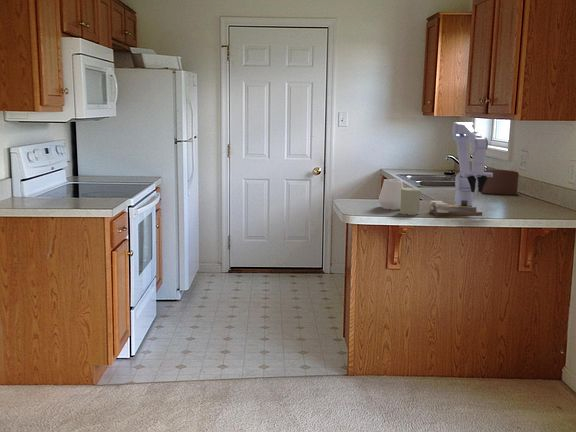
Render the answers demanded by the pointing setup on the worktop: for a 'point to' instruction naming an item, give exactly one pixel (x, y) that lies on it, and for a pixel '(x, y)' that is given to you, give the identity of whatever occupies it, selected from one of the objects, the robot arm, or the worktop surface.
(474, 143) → the robot arm
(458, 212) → the door board
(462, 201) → the bolt
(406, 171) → the worktop surface
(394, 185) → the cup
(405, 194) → the beige upright block
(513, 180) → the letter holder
